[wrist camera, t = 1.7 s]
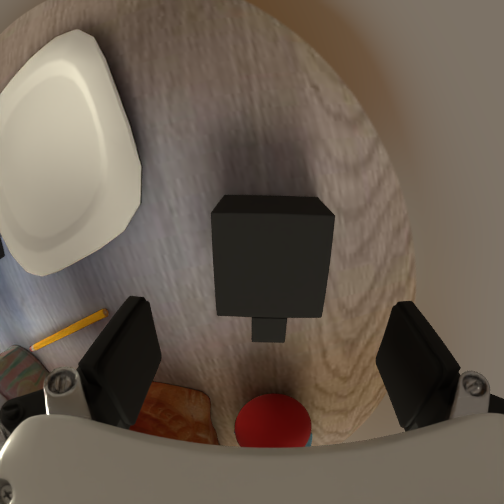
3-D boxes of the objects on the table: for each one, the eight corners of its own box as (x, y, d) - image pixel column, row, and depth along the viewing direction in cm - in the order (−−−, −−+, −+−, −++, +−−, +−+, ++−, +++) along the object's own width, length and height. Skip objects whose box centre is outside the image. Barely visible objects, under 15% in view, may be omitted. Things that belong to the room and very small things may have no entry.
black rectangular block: (224, 194, 17) (210, 212, 13) (318, 197, 17) (335, 215, 13) (227, 301, 20) (218, 340, 16) (308, 303, 20) (317, 342, 16)
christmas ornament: (292, 421, 26) (296, 497, 17) (231, 411, 26) (221, 491, 16) (319, 384, 23) (333, 475, 14) (248, 372, 23) (240, 470, 14)
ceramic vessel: (211, 356, 22) (175, 520, 9) (233, 465, 32) (225, 545, 19) (84, 340, 23) (13, 449, 9) (151, 454, 33) (131, 525, 19)
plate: (-18, 133, 15) (-29, 135, 13) (99, 11, 11) (88, 4, 10) (36, 282, 21) (26, 290, 19) (176, 210, 18) (168, 217, 16)
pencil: (31, 345, 25) (28, 348, 24) (104, 306, 21) (101, 310, 20) (34, 350, 25) (32, 352, 25) (109, 313, 21) (106, 318, 21)
